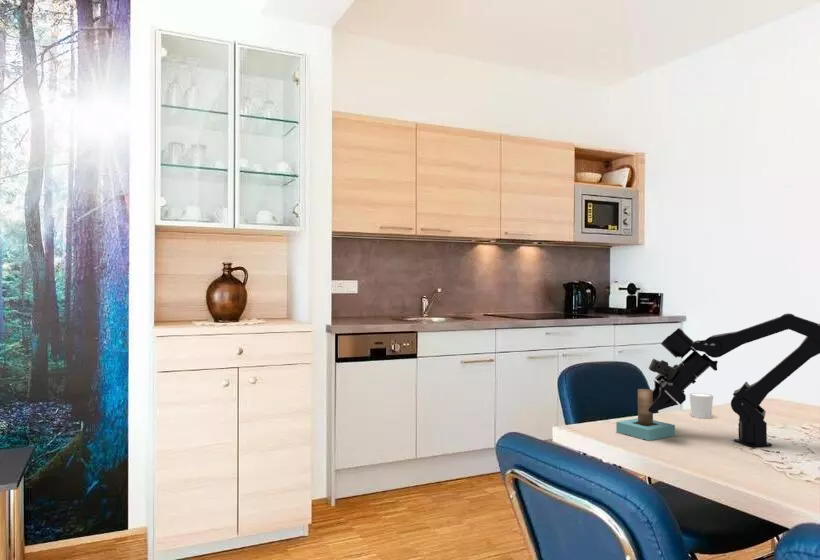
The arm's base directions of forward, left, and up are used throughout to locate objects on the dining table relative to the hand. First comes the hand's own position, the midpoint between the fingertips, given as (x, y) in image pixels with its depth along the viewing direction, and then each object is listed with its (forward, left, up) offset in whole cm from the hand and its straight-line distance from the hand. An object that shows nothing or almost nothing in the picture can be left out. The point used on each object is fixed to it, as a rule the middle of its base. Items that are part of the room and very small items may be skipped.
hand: (647, 408), depth 170 cm
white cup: (+17, -29, -8) cm, 35 cm away
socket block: (0, +1, -7) cm, 7 cm away
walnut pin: (0, +1, -7) cm, 7 cm away
